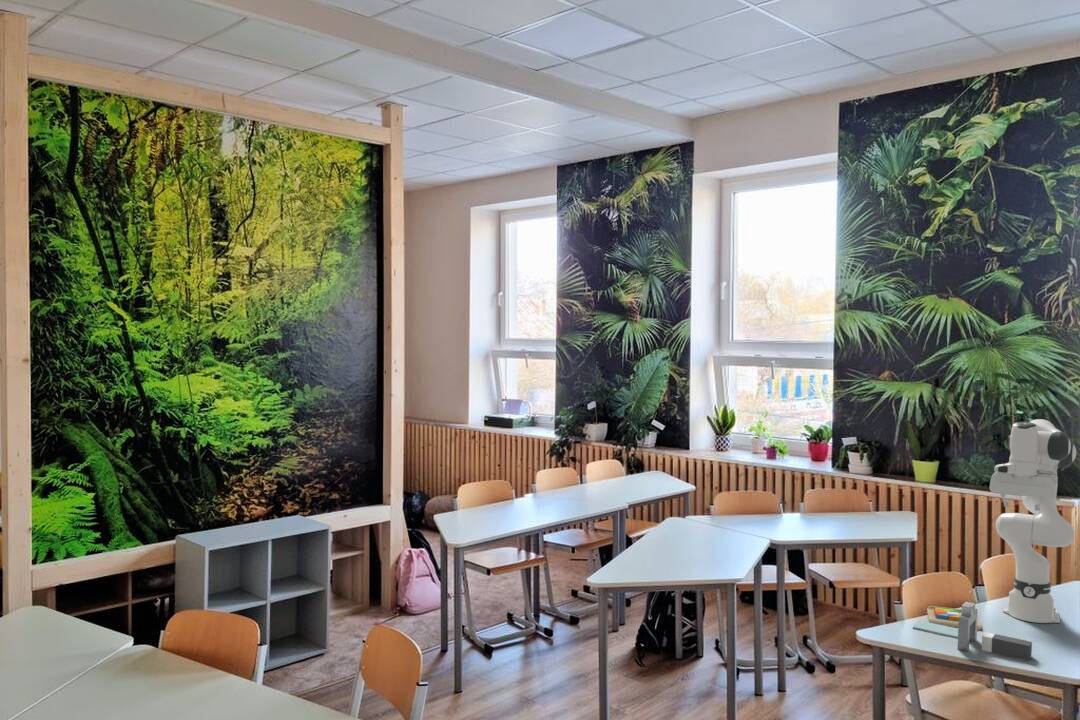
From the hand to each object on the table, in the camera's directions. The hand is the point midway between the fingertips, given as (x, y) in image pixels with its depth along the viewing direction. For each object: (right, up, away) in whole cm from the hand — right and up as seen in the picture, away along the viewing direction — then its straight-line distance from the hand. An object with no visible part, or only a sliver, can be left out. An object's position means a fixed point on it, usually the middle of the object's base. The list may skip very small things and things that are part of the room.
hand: (1021, 508), depth 296 cm
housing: (-21, -46, -3) cm, 51 cm away
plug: (-11, -47, -11) cm, 50 cm away
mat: (-23, -46, +10) cm, 52 cm away
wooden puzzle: (-13, -47, +22) cm, 53 cm away
